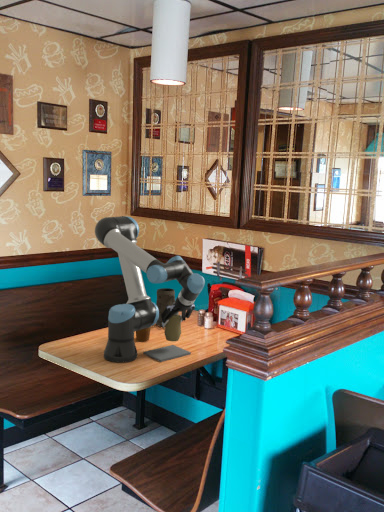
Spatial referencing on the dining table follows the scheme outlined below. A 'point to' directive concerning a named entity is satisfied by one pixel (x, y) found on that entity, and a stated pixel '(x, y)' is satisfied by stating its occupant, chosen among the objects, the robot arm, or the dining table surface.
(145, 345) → the dining table surface
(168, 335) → the squeeze bottle
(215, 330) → the dining table surface
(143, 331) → the disposable coffee cup
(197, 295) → the robot arm
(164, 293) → the dark brown bag
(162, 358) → the rubber mat
